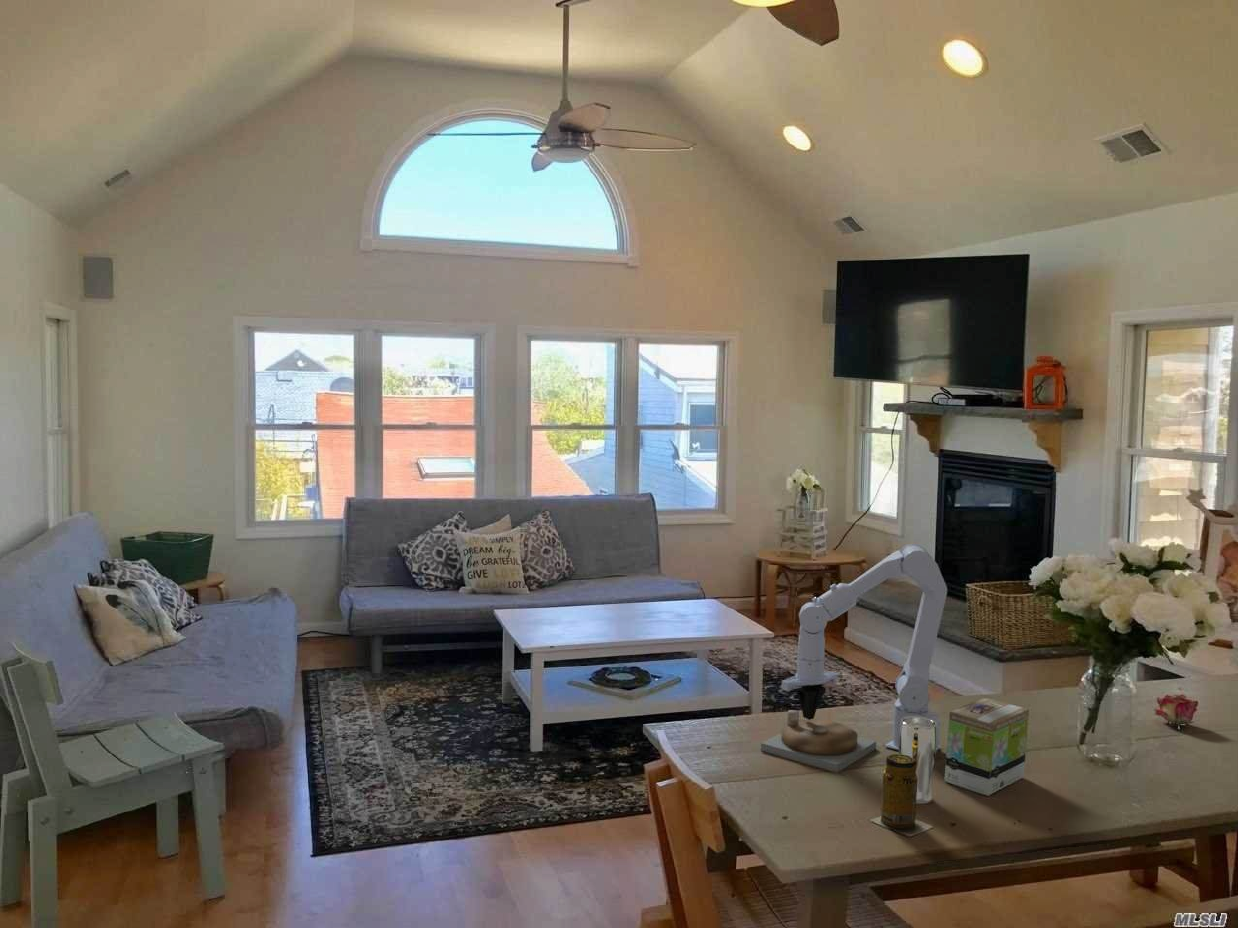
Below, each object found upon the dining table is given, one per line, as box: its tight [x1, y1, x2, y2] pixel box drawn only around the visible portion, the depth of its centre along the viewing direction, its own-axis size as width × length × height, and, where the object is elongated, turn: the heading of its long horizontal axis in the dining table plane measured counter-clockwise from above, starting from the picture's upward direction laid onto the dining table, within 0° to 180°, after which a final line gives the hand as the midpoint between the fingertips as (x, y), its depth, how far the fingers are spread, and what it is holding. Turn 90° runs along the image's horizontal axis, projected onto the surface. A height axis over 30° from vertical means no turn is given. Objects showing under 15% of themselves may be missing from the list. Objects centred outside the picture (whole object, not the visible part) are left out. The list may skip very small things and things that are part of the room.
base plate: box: [760, 732, 877, 774], centre depth 222 cm, size 18×18×2 cm
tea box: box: [943, 697, 1030, 797], centre depth 207 cm, size 15×10×15 cm, turn 134°
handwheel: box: [781, 709, 859, 755], centre depth 222 cm, size 16×16×5 cm
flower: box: [1153, 694, 1199, 727], centre depth 242 cm, size 10×9×8 cm
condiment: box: [869, 753, 934, 837], centre depth 186 cm, size 7×8×12 cm
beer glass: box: [898, 716, 937, 805], centre depth 197 cm, size 7×7×15 cm
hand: (808, 717), depth 228 cm, fingers closed
